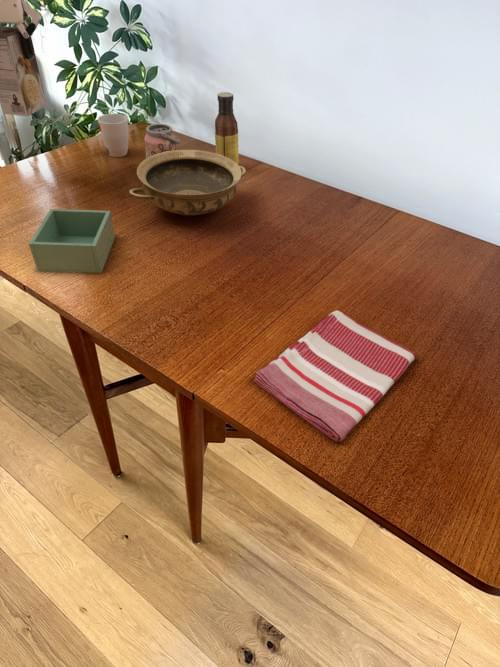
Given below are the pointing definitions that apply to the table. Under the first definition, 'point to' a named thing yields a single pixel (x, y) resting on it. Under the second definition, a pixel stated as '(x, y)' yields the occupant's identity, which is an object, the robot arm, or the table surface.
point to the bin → (73, 241)
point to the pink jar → (159, 139)
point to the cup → (114, 133)
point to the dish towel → (335, 373)
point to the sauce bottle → (226, 128)
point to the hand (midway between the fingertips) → (12, 56)
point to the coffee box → (18, 76)
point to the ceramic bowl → (188, 181)
